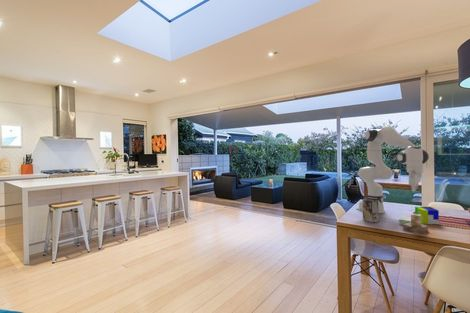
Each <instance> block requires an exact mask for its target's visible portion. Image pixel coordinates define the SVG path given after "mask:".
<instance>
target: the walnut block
mask: <svg viewBox="0 0 470 313" xmlns="http://www.w3.org/2000/svg"><path fill="white" fill-rule="evenodd" d="M402 230H403V231H406V230H407V232H411V233H413V232H414V234H417V233H418V235H422V234H424V232H425V233H427V232H429V225H427V224H422V223H421V226H420V227H419V226H412V225H411V222H410V223H406V224H403V225H402ZM421 233H422V234H421Z"/></svg>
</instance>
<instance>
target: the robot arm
mask: <svg viewBox="0 0 470 313" xmlns="http://www.w3.org/2000/svg"><path fill="white" fill-rule="evenodd" d="M364 134H365V135H364V137H365V140H366V141H367V148H366V151H367V152H366V155H367V156H366V158H367V161H368V162H369V163H371V164H373V165H375V166H364V167H360V168H359V169H358V171H357V174H358V177H359V178H360V179H362V181H364V183H365V184H366V186H367V194H366V195H364V197H366V198H365V199H371V200H375V201H378V214H384V213H386V209H385V206H384V193H383V190H384V189H383V186H382V185H381V183H378V182H376V181H375V180H379V181H380V180H382V181H385V180H391V179H392V177H393V174H394V173H393V170H392V169H391V167H390V166H389V167H388V166H387V165H386V164H385V162H384V160H383V153H382V149H383V148H382V145H383V144H385V145H388V146H390V147H398V148H403V149H404V150H401V151H399V152H398V153H397V154H396V160H397V162H398V163H399V164H401V165H402V164H403V165H406V173H408V185H409V186H410V188H411V192H416V190H418V189H419V183H420V182H421V180H422V173H424V164H425V163H427V161H428V160H429V153H428V152H427V151H426V150H425V149H423V148H422V147H421V146H420V145H417V144H416V143H414V142H413V141H412V140H411V139H409V138H408V137H406V136H403V135H401V134H400V133H399V132H398V131H397V130H396V129H395V128H393V127H392V126H390V125H383V126H382V127H381V128H380V129H377V128H376V129H373V128H371V129H368V130H366V132H365V133H364ZM355 210H358V211H362V212H363V200H361V201H359V203H358V206H356V208H355Z"/></svg>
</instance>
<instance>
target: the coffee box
mask: <svg viewBox="0 0 470 313" xmlns="http://www.w3.org/2000/svg"><path fill="white" fill-rule="evenodd" d="M362 201H363V211H362V220H363V219H364V220H363V221H365V220H366V221H365V222H368V221H369V223H371V222H372V224H374V223H373V222H375V223H379V213H378V201H375V200H371V199H366V198H365V199H362Z"/></svg>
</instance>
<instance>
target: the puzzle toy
mask: <svg viewBox="0 0 470 313" xmlns="http://www.w3.org/2000/svg"><path fill="white" fill-rule="evenodd" d="M414 209H415V210H414V214H421V224H422V225H439V224H440V221H439V217H440V216H439V214H440V213H439V212H440V211H439V209H437V208H434V207H432V206H431V207H430V206H415V207H414Z"/></svg>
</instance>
